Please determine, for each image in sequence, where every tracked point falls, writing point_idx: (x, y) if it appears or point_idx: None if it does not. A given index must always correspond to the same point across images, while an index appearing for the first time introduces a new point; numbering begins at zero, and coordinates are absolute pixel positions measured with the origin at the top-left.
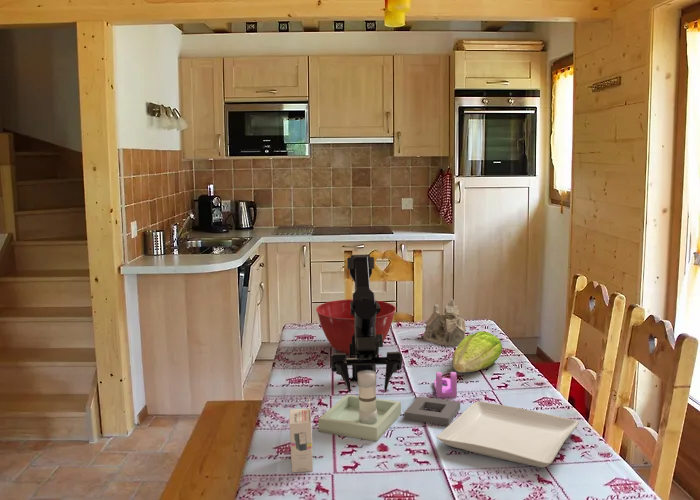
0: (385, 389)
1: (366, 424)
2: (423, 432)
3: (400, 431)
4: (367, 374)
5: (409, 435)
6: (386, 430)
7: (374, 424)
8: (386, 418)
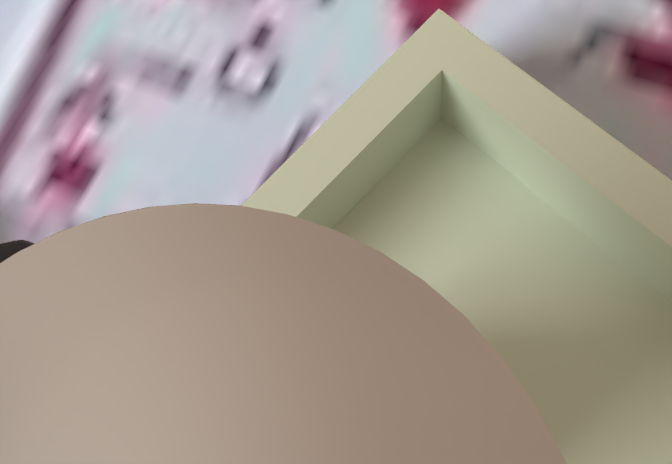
0: (31, 242)
1: (511, 111)
2: (47, 106)
3: (187, 182)
4: (201, 433)
5: (162, 94)
6: None
7: None
8: (249, 202)
